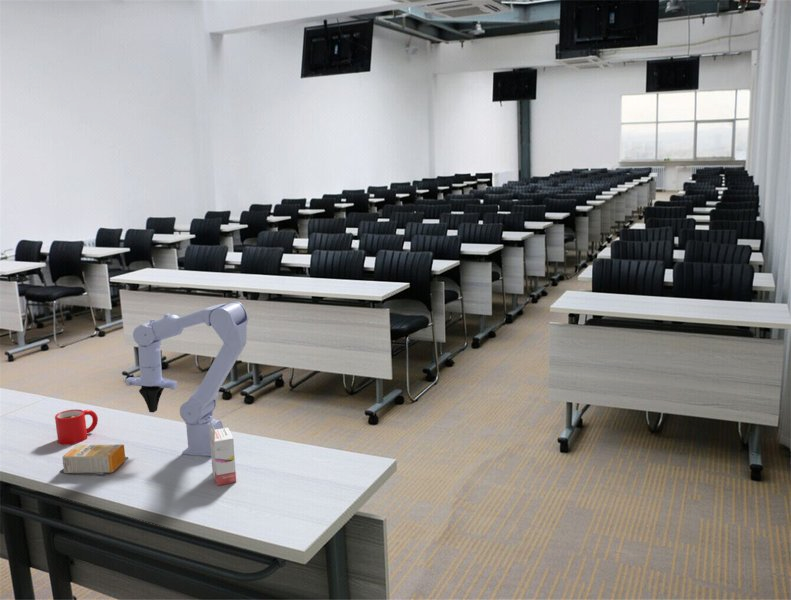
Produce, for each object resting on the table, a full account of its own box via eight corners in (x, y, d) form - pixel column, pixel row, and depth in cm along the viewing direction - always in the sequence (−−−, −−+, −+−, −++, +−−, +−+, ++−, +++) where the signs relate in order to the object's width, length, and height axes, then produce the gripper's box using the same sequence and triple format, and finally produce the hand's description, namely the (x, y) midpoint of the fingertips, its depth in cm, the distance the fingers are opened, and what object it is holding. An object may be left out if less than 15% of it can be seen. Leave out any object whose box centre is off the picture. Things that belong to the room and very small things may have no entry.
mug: (105, 433, 208) (102, 408, 207) (67, 446, 199) (63, 420, 197) (91, 427, 213) (88, 403, 211) (52, 440, 203) (49, 415, 202)
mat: (128, 458, 190) (128, 456, 190) (103, 476, 180) (103, 474, 179) (86, 455, 193) (86, 453, 193) (59, 472, 182) (59, 470, 182)
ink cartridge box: (237, 482, 174) (233, 427, 171) (217, 486, 173) (212, 430, 170) (231, 468, 182) (227, 415, 179) (212, 472, 180) (207, 418, 177)
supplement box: (111, 455, 179) (61, 456, 180) (113, 473, 180) (63, 473, 180) (124, 443, 187) (76, 443, 188) (126, 460, 188) (78, 460, 189)
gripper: (181, 362, 196) (183, 408, 198) (134, 359, 198) (137, 404, 201) (169, 370, 189) (171, 417, 192) (120, 366, 191) (123, 412, 194)
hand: (153, 411), depth 196 cm, fingers closed
